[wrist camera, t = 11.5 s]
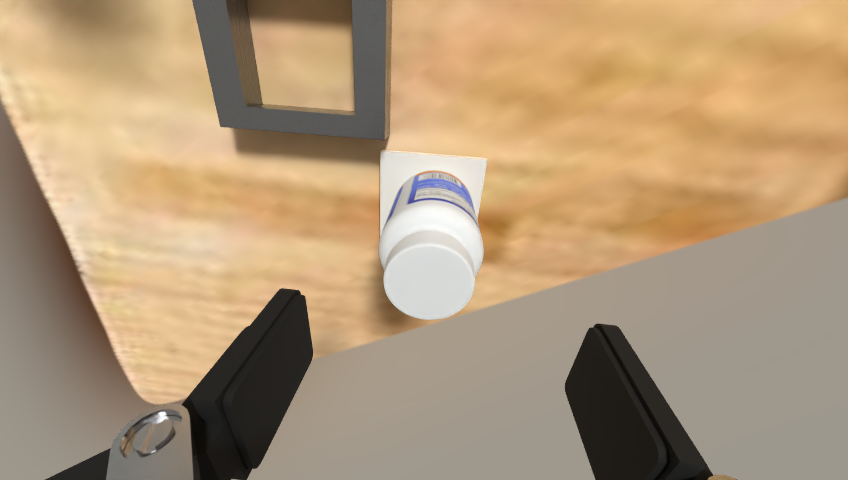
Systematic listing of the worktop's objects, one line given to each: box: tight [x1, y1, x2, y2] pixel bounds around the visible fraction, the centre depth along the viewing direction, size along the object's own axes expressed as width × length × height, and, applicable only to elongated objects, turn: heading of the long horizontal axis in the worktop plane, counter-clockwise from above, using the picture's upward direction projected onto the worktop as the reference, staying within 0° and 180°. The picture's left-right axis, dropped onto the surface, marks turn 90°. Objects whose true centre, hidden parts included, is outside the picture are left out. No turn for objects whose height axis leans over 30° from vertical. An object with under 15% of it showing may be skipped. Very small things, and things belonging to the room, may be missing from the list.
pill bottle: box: [379, 170, 483, 320], centre depth 18 cm, size 5×5×10 cm
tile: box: [380, 150, 487, 237], centre depth 22 cm, size 7×7×1 cm
